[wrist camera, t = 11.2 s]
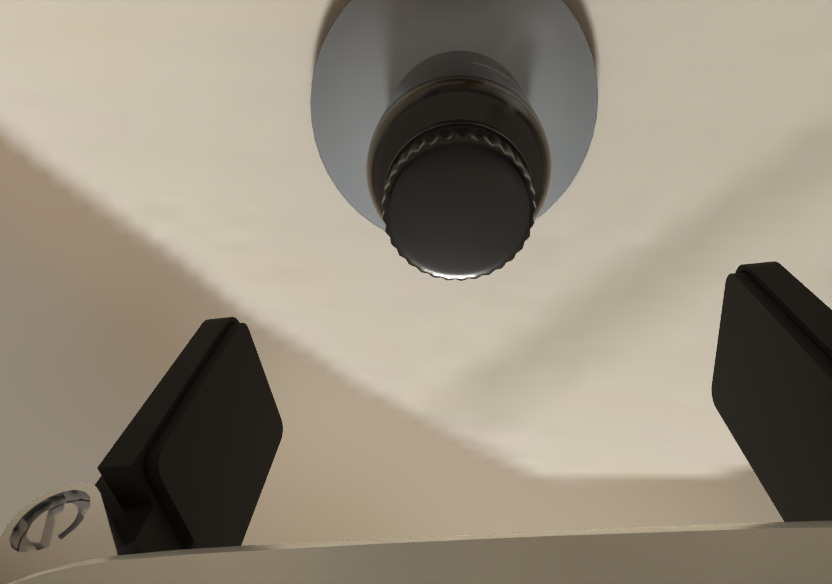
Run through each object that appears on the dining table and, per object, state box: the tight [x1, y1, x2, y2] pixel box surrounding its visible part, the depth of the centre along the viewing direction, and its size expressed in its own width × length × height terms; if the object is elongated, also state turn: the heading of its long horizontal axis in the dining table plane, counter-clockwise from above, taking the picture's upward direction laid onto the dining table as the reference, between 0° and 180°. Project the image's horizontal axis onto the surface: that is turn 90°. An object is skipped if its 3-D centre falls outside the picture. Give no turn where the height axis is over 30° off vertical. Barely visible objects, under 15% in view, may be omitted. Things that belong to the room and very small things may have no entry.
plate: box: [311, 0, 598, 231], centre depth 28 cm, size 14×14×1 cm
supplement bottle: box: [366, 51, 552, 281], centre depth 22 cm, size 7×7×12 cm
